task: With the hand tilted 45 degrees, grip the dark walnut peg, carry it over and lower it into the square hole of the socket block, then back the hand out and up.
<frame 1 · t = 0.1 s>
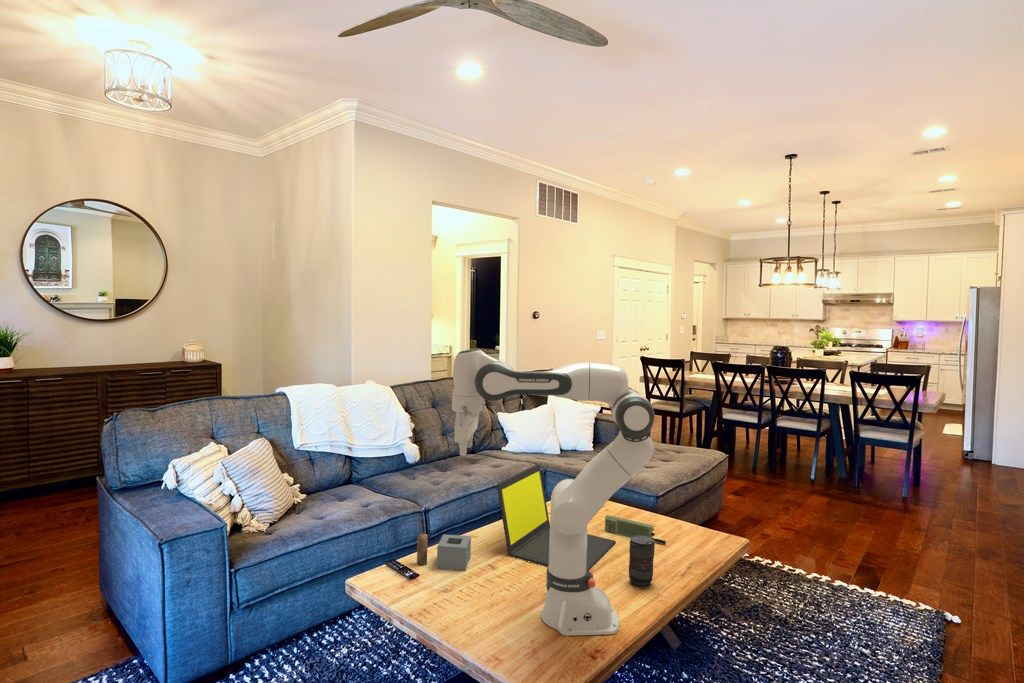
hand: (465, 451, 166), 48 cm above the table, tool pointing down, fingers open, 8 cm apart
camera lens: (640, 583, 188), on the table
socket block: (453, 563, 199), on the table
laptop: (556, 549, 215), on the table
walnut peg: (421, 563, 198), on the table
handheld radio: (634, 538, 227), on the table
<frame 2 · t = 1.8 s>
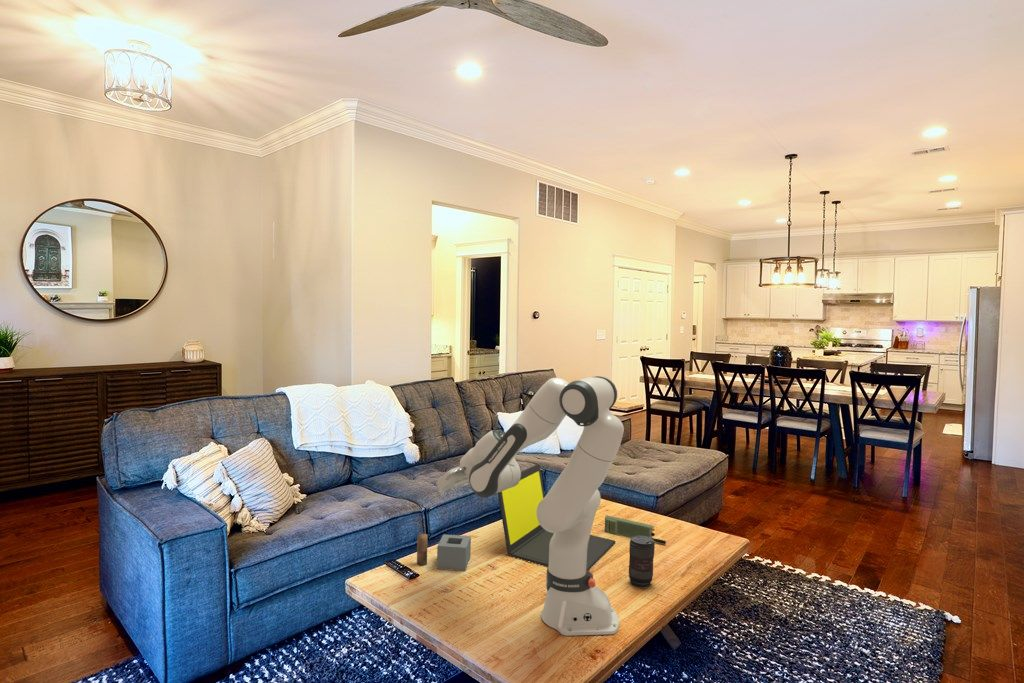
hand: (450, 488, 189), 29 cm above the table, tool tilted 45°, fingers open, 8 cm apart
nothing on the table moved.
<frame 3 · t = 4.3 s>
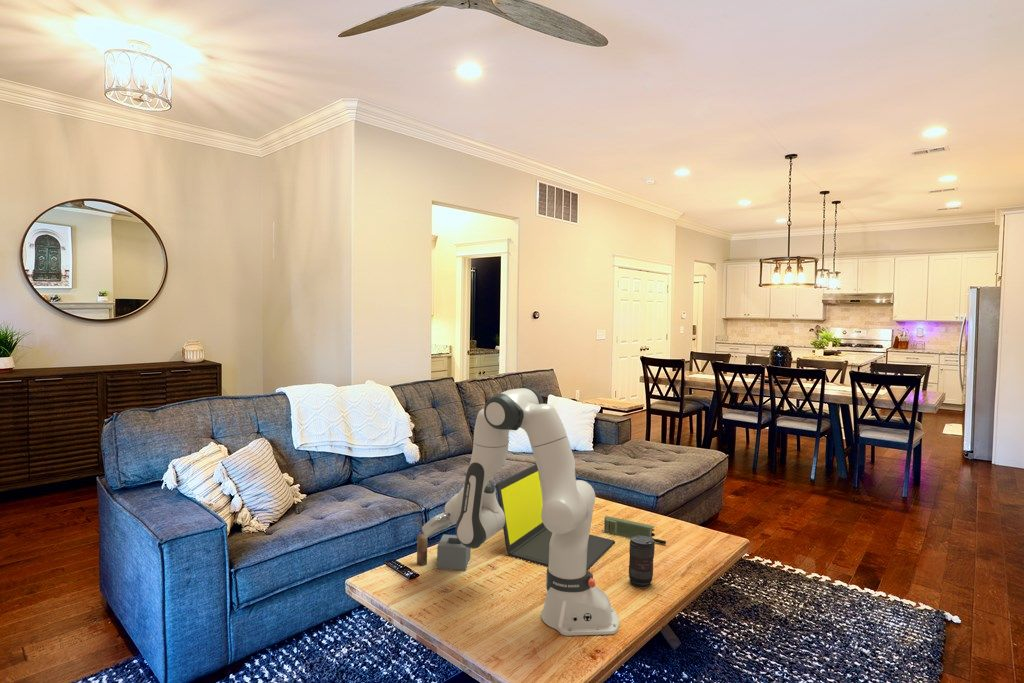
hand: (435, 531, 194), 13 cm above the table, tool tilted 45°, fingers open, 8 cm apart
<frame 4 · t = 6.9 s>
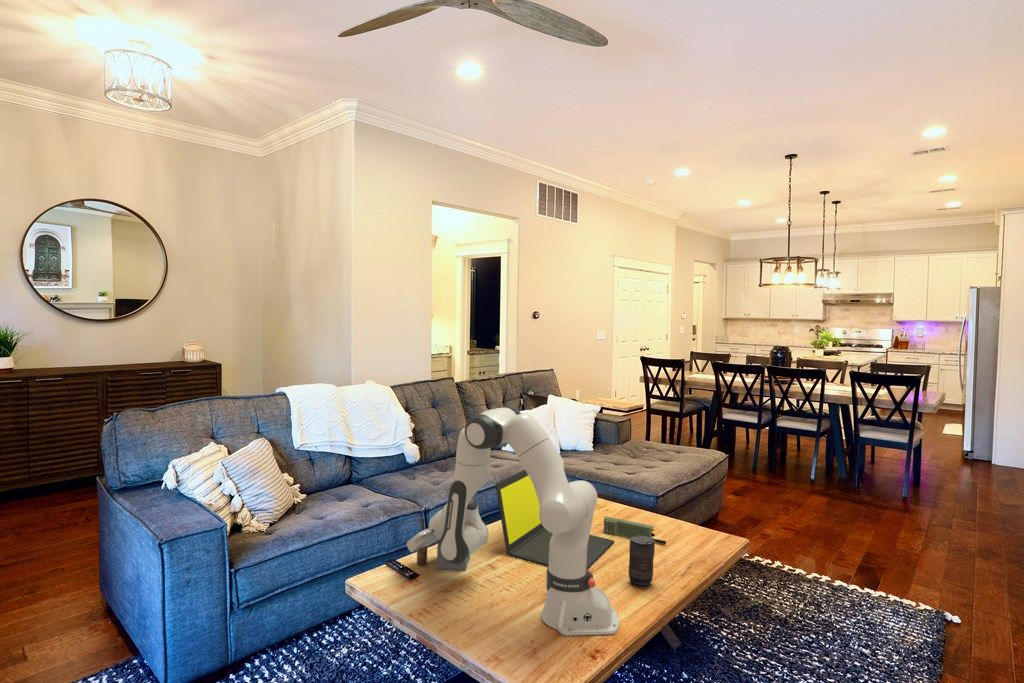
hand: (420, 546, 198), 6 cm above the table, tool tilted 45°, fingers closed on walnut peg, 3 cm apart
walnut peg: (421, 563, 198), on the table, touching gripper
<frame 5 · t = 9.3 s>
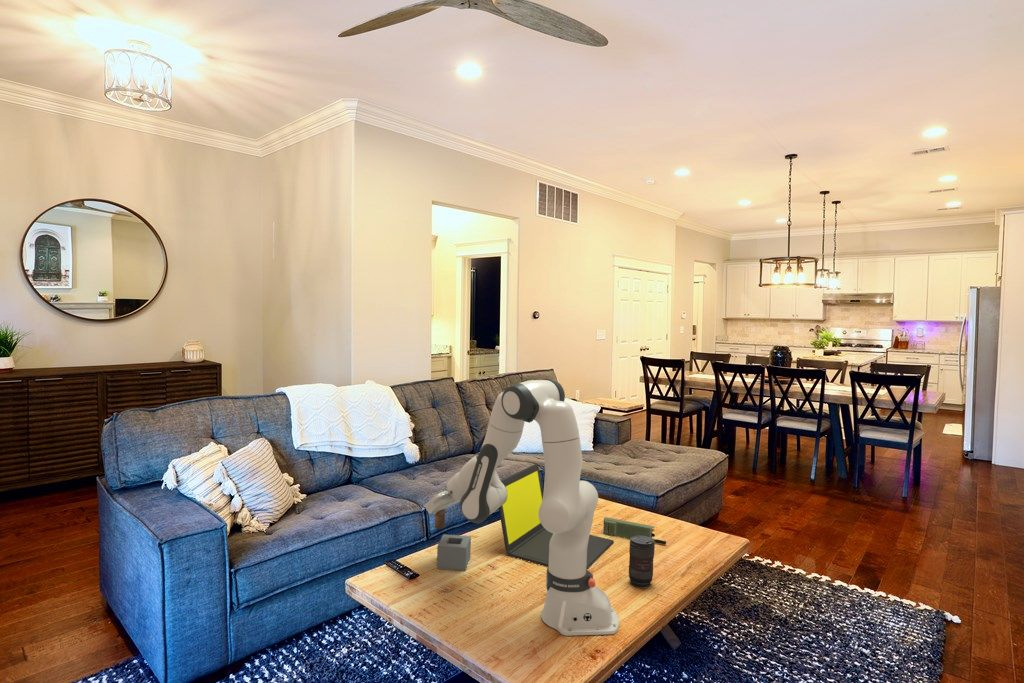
hand: (438, 510, 198), 19 cm above the table, tool tilted 45°, fingers closed on walnut peg, 3 cm apart
walnut peg: (439, 527, 198), point 13 cm above the table, touching gripper
when the fingers open (11 cm above the table, at t = 12.1 s): walnut peg drops 2 cm, resting on socket block.
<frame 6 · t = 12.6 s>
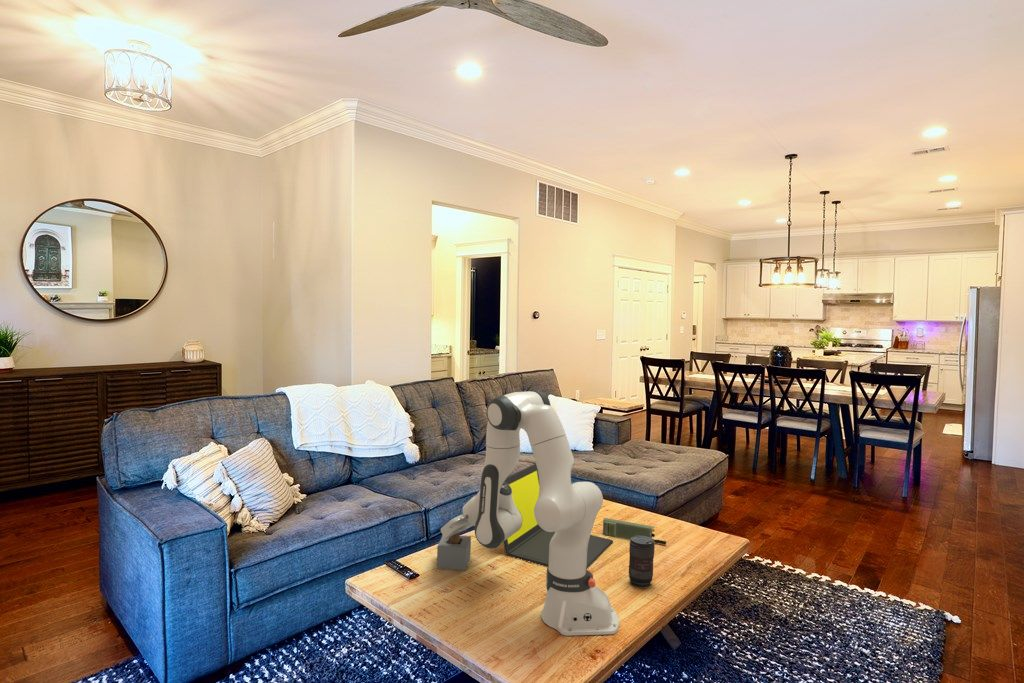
hand: (453, 533, 199), 11 cm above the table, tool tilted 45°, fingers open, 8 cm apart
walnut peg: (454, 554, 199), point 3 cm above the table, touching socket block
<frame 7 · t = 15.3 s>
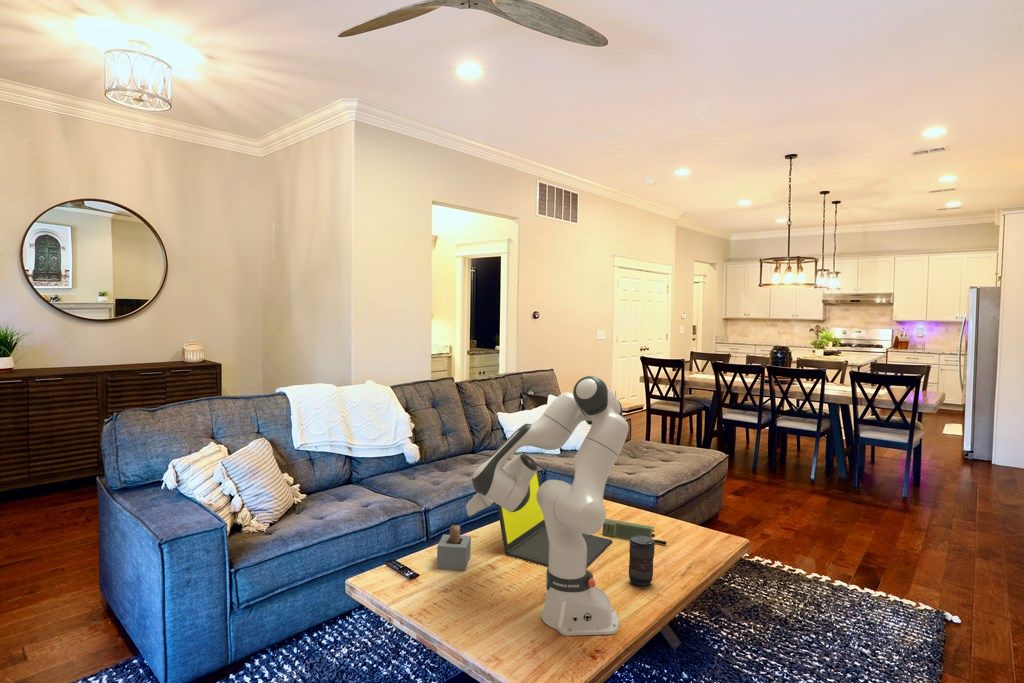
hand: (477, 509, 193), 21 cm above the table, tool tilted 45°, fingers open, 8 cm apart
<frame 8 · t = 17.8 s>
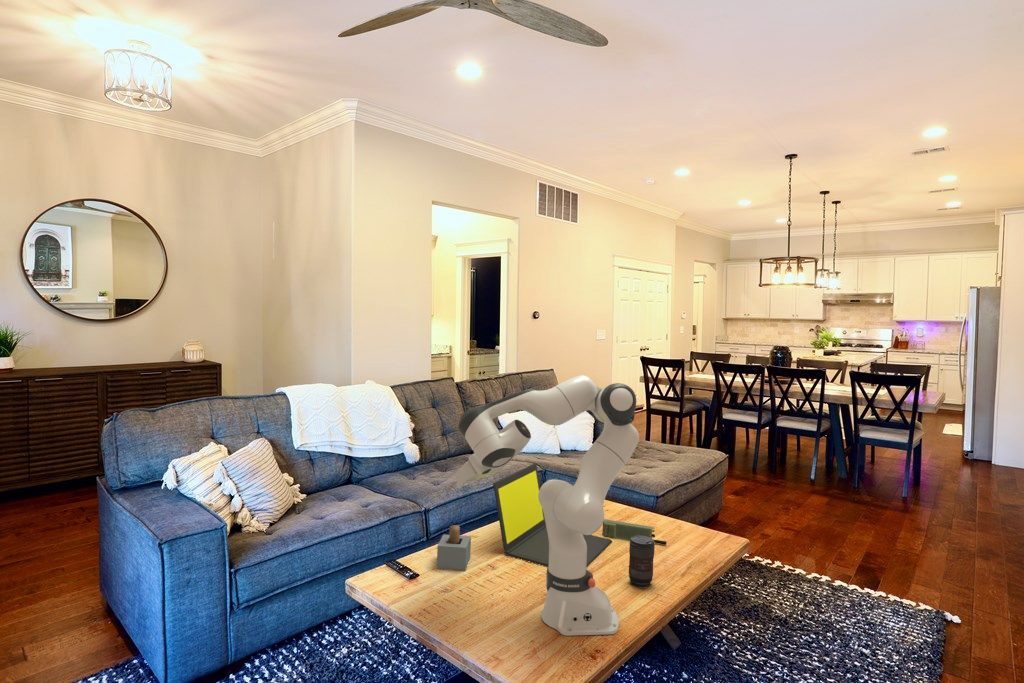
hand: (468, 482, 183), 33 cm above the table, tool tilted 45°, fingers open, 8 cm apart
at the end: walnut peg 0.0 cm off-centre on the socket block, point 3.0 cm above the socket block's base; walnut peg tilted 1°; the gripper is holding nothing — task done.
